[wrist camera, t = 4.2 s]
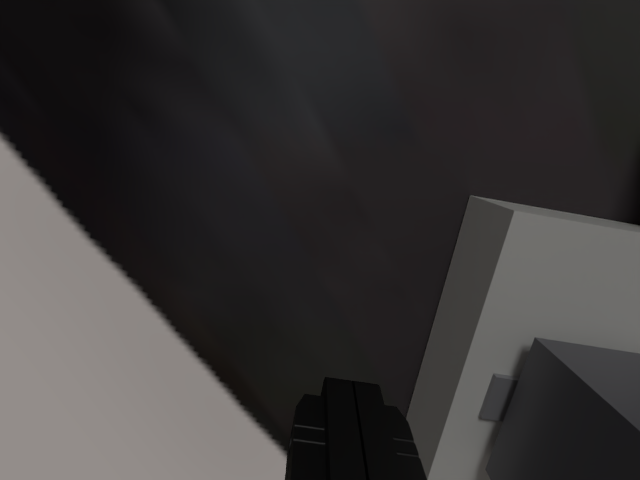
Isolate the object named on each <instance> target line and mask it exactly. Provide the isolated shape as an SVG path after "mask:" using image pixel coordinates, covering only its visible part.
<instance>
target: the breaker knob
mask: <svg viewBox="0 0 640 480" xmlns="http://www.w3.org/2000/svg"><path fill="white" fill-rule="evenodd" d="M485 470H486V472H487V474H488V476H489V478H490V480H640V354H639V353H633V352H626V351H620V350H613V349H607V348H600V347H594V346H588V345H581V344H575V343H568V342H562V341H556V340H549V339H543V338H536V337H535V338H534V341H533V343H532V346H531V349H530V351H529V354H528V357H527V359H526V362H525V365H524V367H523V370H522V373H521V375H520V378H519V381H518V383H517V386H516V389H515V391H514V394H513V397H512V399H511V402H510V405H509V407H508V410H507V413H506V415H505V418H504V421H503V423H502V426H501V429H500V431H499V434H498V437H497V439H496V442H495V445H494V447H493V450H492V453H491V455H490V458H489V461H488V463H487V466H486V469H485Z"/></svg>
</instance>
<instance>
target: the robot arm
mask: <svg viewBox="0 0 640 480" xmlns="http://www.w3.org/2000/svg"><path fill="white" fill-rule="evenodd" d="M285 480H427V478H426V475H425V472H424V468H423V465H422V462H421V459H420V458H419V453H418V450H417V447H416V444H415V443H414V438H413V435H412V432H411V429H410V426H409V423H408V421H407V420H406V419H405V417H404V416H403V415H402V414H401V412H400V411H399V410H398V408H397V407H394V406H387V405H384V401H383V397H382V394H381V390H380V387H379V385H378V384H371V383H364V382H357V381H349V380H343V379H336V378H329V377H325V379H324V382H323V387H322V392H321V396H316V395H309V394H305V395H304V396H303V397H302V399H301V400H300V402H299V403H298V405H297V406H296V410H295V416H294V421H293V426H292V432H291V437H290V442H289V448H288V453H287V464H286V475H285Z"/></svg>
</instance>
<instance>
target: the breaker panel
mask: <svg viewBox="0 0 640 480" xmlns="http://www.w3.org/2000/svg"><path fill="white" fill-rule="evenodd" d="M535 337H536V338H543V339H549V340H556V341H562V342H568V343H575V344H581V345H588V346H594V347H600V348H607V349H613V350H620V351H626V352H633V353H639V354H640V225H635V224H629V223H624V222H618V221H612V220H607V219H601V218H595V217H590V216H584V215H578V214H573V213H567V212H562V211H556V210H550V209H545V208H539V207H533V206H528V205H522V204H516V203H511V202H505V201H499V200H494V199H488V198H482V197H477V196H471V195H470V197H469V200H468V204H467V207H466V211H465V214H464V218H463V221H462V225H461V228H460V232H459V235H458V239H457V242H456V246H455V249H454V253H453V256H452V260H451V263H450V267H449V270H448V274H447V277H446V281H445V284H444V288H443V291H442V295H441V298H440V302H439V305H438V309H437V312H436V315H435V319H434V322H433V326H432V329H431V333H430V336H429V340H428V343H427V347H426V350H425V354H424V357H423V361H422V364H421V368H420V371H419V375H418V378H417V382H416V385H415V389H414V392H413V396H412V399H411V403H410V406H409V410H408V413H407V417H406V420H407V421H408V423H409V426H410V429H411V432H412V435H413V438H414V443H415V444H416V447H417V450H418V453H419V458H420V459H421V462H422V465H423V468H424V472H425V475H426V478H427V480H490V478H489V476H488V474H487V472H486V470H485V469H486V466H487V463H488V461H489V458H490V455H491V453H492V450H493V447H494V445H495V442H496V439H497V437H498V434H499V431H500V429H501V426H502V423H503V421H504V418H505V415H506V413H507V410H508V407H509V405H510V402H511V399H512V397H513V394H514V391H515V389H516V386H517V383H518V381H519V378H520V375H521V373H522V370H523V367H524V365H525V362H526V359H527V357H528V354H529V351H530V349H531V346H532V343H533V341H534V338H535Z"/></svg>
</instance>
